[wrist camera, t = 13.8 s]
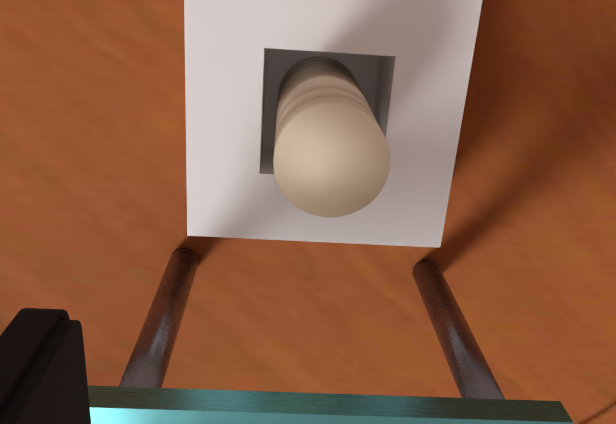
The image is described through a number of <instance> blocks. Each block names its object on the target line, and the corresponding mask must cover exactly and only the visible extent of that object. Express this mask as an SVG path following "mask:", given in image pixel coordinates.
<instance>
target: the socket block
mask: <svg viewBox="0 0 616 424" xmlns="http://www.w3.org/2000/svg"><path fill="white" fill-rule="evenodd" d="M481 6H482V0H184V15H185V90H186V165H187V236H206V237H227V238H248V239H269V240H291V241H312V242H333V243H354V244H376V245H397V246H418V247H439V248H440V246H441V240H442V234H443V228H444V222H445V216H446V211H447V205H448V199H449V193H450V187H451V181H452V176H453V170H454V164H455V158H456V152H457V146H458V141H459V135H460V129H461V123H462V117H463V111H464V106H465V100H466V94H467V88H468V82H469V76H470V70H471V65H472V59H473V53H474V47H475V41H476V35H477V30H478V24H479V18H480V12H481ZM316 56H322V57H328V58H332V59H335V60H337V61H339V62H340V63H342V64H343V65H345V66H346V67H347V68H348V69H349V70H350V72H351V73H352V74H353V76H354V78H355V80H356V82H357V84H358V85H359V87H360V89H361V91H362V93H363V95H364V97H365V99H366V101H367V103H368V105H369V107H370V109H371V111H372V113H373V114H374V116H375V118H376V120H377V122H378V124H379V126H380V128H381V130H382V132H383V134H384V136H385V138H386V140H387V143H388V146H389V150H390V158H391V162H390V171H389V175H388V178H387V181H386V183H385V185H384V187H383V189H382V190H381V192H380V193H379V194H378V196H377V197H376V198H375V199H374V200H373V201H372V202H371V203H370V204H368V205H367V206H365V207H364V208H362V209H361V210H359V211H357V212H354V213H352V214H349V215H345V216H341V217H320V216H315V215H312V214H309V213H306V212H304V211H302V210H300V209H299V208H297V207H296V206H295V205H293V204H292V203H291V202H290V201H289V200H288V199H287V198H286V197H285V196H284V194H283V193H282V191H281V190H280V188H279V186H278V184H277V181H276V178H275V174H274V165H273V160H274V147H275V133H276V120H277V106H278V94H279V87H280V84H281V81H282V79H283V77H284V76H285V74H286V73H287V71H288V70H289V69H290V68H291V67H292V66H294V65H295V64H296V63H298V62H299V61H301V60H304V59H306V58H310V57H316Z"/></svg>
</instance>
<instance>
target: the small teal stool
mask: <svg viewBox="0 0 616 424" xmlns="http://www.w3.org/2000/svg"><path fill="white" fill-rule="evenodd" d="M197 266H198V257H197V255H196V254H195V253H194V252H193V251H192V250H190V249H186V248H181V249H177V250H176V251H174V252H173V253H172V255H171V257H170V260H169V262H168V265H167V267H166V270H165V272H164V275H163V277H162V280H161V282H160V285H159V287H158V290H157V292H156V295H155V297H154V300H153V302H152V305H151V307H150V310H149V312H148V315H147V317H146V320H145V322H144V325H143V327H142V330H141V332H140V335H139V337H138V340H137V342H136V345H135V347H134V350H133V352H132V355H131V357H130V360H129V362H128V365H127V368H126V370H125V373H124V375H123V378H122V380H121V383H120V385H119V387H111V386H88V395H89V406H90V416H91V424H573V421H572V420H571V418H570V416H569V415H568V413H567V412H566V410H565V408H564V407H563V405H562V404H561V402H560V401H536V400H505V398H504V396H503V394H502V392H501V390H500V388H499V386H498V384H497V382H496V380H495V378H494V376H493V374H492V372H491V370H490V368H489V366H488V364H487V362H486V360H485V358H484V356H483V354H482V352H481V350H480V348H479V346H478V344H477V342H476V340H475V338H474V336H473V334H472V332H471V330H470V328H469V326H468V324H467V322H466V320H465V318H464V316H463V314H462V311H461V309H460V307H459V305H458V303H457V301H456V299H455V297H454V295H453V293H452V291H451V289H450V287H449V285H448V283H447V281H446V279H445V277H444V275H443V273H442V271H441V269H440V267H439V265H438V264H437V263H436V262H435V261H433V260H429V259H426V260H422V261H420V262H418V263H417V264H416V265H415V266H414V268H413V277H414V279H415V282H416V284H417V287H418V289H419V292H420V294H421V297H422V300H423V302H424V305H425V307H426V310H427V312H428V315H429V317H430V320H431V322H432V325H433V327H434V330H435V332H436V335H437V337H438V340H439V342H440V345H441V347H442V350H443V352H444V355H445V357H446V360H447V362H448V365H449V367H450V370H451V372H452V375H453V377H454V380H455V382H456V385H457V387H458V390H459V392H460V395H461V397H462V398H445V397H414V396H384V395H354V394H323V393H293V392H263V391H233V390H202V389H172V388H161V387H162V384H163V381H164V377H165V374H166V370H167V367H168V364H169V360H170V357H171V354H172V350H173V347H174V344H175V340H176V337H177V334H178V330H179V327H180V323H181V320H182V317H183V313H184V310H185V307H186V303H187V300H188V297H189V293H190V290H191V287H192V283H193V280H194V276H195V273H196V270H197Z"/></svg>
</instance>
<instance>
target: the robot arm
mask: <svg viewBox="0 0 616 424" xmlns="http://www.w3.org/2000/svg"><path fill="white" fill-rule="evenodd" d="M0 424H91V416H90V406H89V395H88V385H87V375H86V365H85V354H84V344H83V334H82V326H81V323H80V321H78V320H70V319H69V315H68V313H67V311H65V310H62V309H36V308H24V309H22V310H20V311H19V312H18V314H17V315H16V316H15V317H14V319H13V320H12V321H11V323H10V324H9V325H8V327H7V328H6V329H5V331H4V332H3V333H2V335H1V336H0Z"/></svg>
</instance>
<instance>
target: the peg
mask: <svg viewBox="0 0 616 424" xmlns="http://www.w3.org/2000/svg"><path fill="white" fill-rule="evenodd" d="M390 162H391V158H390V150H389V146H388V143H387V140H386V138H385V136H384V134H383V132H382V130H381V128H380V126H379V124H378V122H377V120H376V118H375V116H374V114H373V113H372V111H371V109H370V107H369V105H368V103H367V101H366V99H365V97H364V95H363V93H362V91H361V89H360V87H359V85H358V84H357V82H356V80H355V78H354V76H353V74H352V73H351V72H350V70H349V69H348V68H347V67H346V66H345V65H343V64H342V63H340V62H339V61H337V60H335V59H332V58H328V57H322V56H316V57H310V58H306V59H304V60H301V61H299V62H298V63H296V64H295V65H294V66H292V67H291V68H290V69H289V70H288V71H287V73H286V74H285V76H284V77H283V79H282V81H281V84H280V87H279V94H278V106H277V120H276V133H275V147H274V160H273V165H274V174H275V178H276V181H277V184H278V186H279V188H280V190H281V191H282V193H283V194H284V196H285V197H286V198H287V199H288V200H289V201H290V202H291V203H292V204H293V205H295V206H296V207H297V208H299V209H300V210H302V211H304V212H306V213H309V214H312V215H315V216H320V217H341V216H345V215H349V214H352V213H354V212H357V211H359V210H361V209H362V208H364V207H365V206H367V205H368V204H370V203H371V202H372V201H373V200H374V199H375V198H376V197H377V196H378V194H379V193H380V192H381V190H382V189H383V187H384V185H385V183H386V181H387V178H388V175H389V171H390Z"/></svg>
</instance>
